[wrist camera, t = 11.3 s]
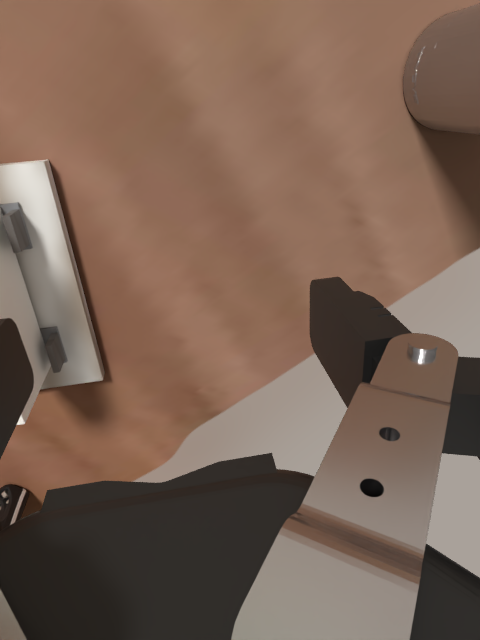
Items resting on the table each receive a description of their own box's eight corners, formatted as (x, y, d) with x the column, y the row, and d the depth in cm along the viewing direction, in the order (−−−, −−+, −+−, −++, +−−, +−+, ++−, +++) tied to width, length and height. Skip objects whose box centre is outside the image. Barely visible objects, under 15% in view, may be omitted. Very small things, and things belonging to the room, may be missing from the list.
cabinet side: (48, 159, 36) (34, 166, 32) (104, 372, 47) (99, 396, 43) (-89, 172, 35) (-120, 180, 31) (0, 387, 45) (-16, 413, 42)
